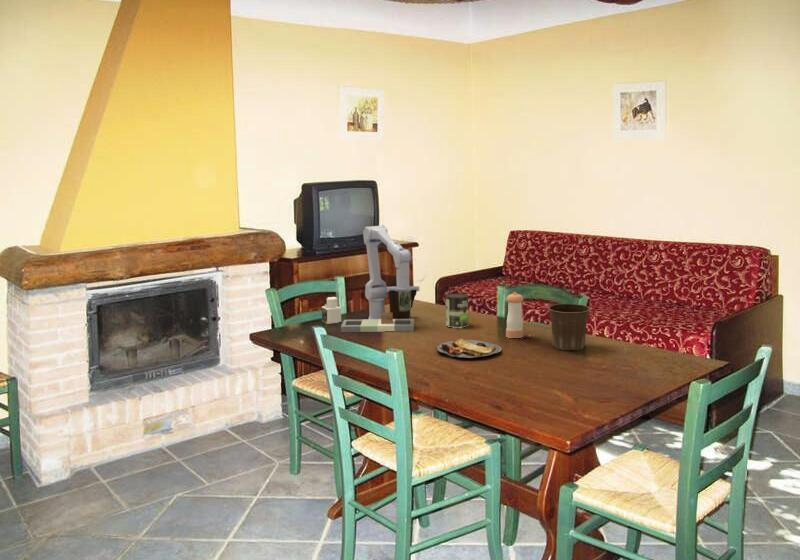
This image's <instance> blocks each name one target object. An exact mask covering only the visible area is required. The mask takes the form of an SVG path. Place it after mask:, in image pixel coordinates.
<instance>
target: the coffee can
mask: <svg viewBox="0 0 800 560" xmlns="http://www.w3.org/2000/svg"><path fill="white" fill-rule="evenodd" d="M446 326H448V327H453V328H452V329H457V327H458V329H463V328H462V327H466V326H468V327H469V295H468V294H466V293H459V292H458V293H448V294H445V327H446ZM448 327H447V328H448ZM454 327H455V328H454ZM466 328H467V327H466Z"/></svg>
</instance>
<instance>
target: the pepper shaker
mask: <svg viewBox="0 0 800 560" xmlns="http://www.w3.org/2000/svg"><path fill="white" fill-rule="evenodd" d="M505 299H506V302H507V305H508V306H507V308H508V309H507V317H506V328H505V338H506V337H508V338H507V339H509V338H521V337H523V338H524V328H523V326H524V325H523V323H524V320H523V313H522V303H523V302H524V296H523V295H522V294H519V293H517V292H516V291H514V292H513V293H510V294H508V295H507V296H506V298H505ZM521 339H522V338H521Z"/></svg>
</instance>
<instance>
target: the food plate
mask: <svg viewBox="0 0 800 560" xmlns="http://www.w3.org/2000/svg"><path fill="white" fill-rule="evenodd" d="M435 349H436V351H437V352H439V353H443V354H445V355H447V356H449V357H451V358H455V357H456V358H462V359H466V358H467V359H476V358H477V359H478V358H482V357H486V356H491V355H494V354H498V353H500V352H501V350H502V347H501V345H498V344H496V343H494V342H490V341H484V340H478V339H477V340H475V339H474V340H473V339H463V338H462V337H458V338H457V339H456V340H450V341H445V342H441V343H439V344H438V345H437V346H436V347H435Z"/></svg>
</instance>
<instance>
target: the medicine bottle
mask: <svg viewBox="0 0 800 560" xmlns="http://www.w3.org/2000/svg"><path fill="white" fill-rule="evenodd" d="M323 301H324V305H323V306H321V321H322V322H323V323H325V324H326V325H330V324H339V322H341V323H342V307H340V306H338V305H339V303H338V296H334V295H329V296H326V297H324V300H323Z"/></svg>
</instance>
